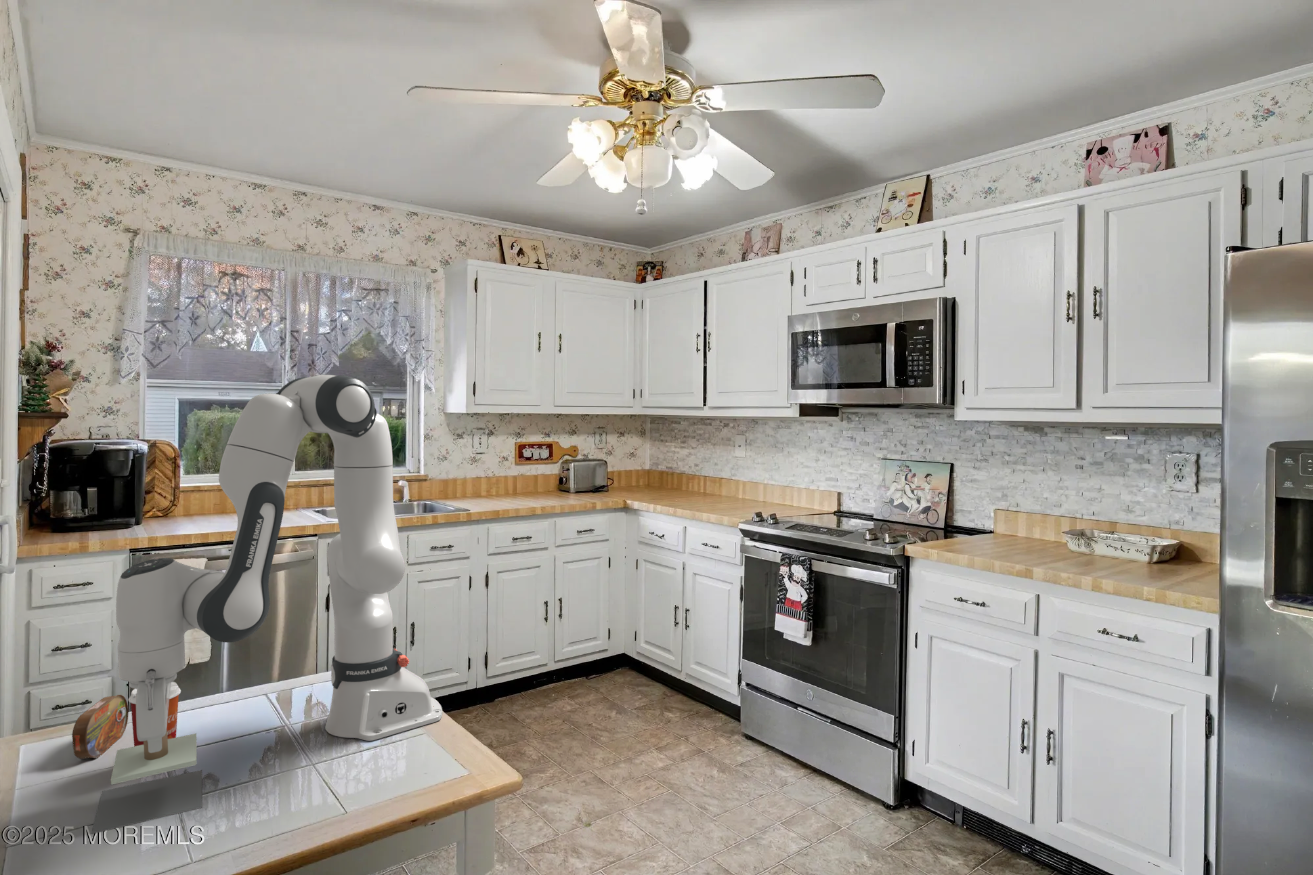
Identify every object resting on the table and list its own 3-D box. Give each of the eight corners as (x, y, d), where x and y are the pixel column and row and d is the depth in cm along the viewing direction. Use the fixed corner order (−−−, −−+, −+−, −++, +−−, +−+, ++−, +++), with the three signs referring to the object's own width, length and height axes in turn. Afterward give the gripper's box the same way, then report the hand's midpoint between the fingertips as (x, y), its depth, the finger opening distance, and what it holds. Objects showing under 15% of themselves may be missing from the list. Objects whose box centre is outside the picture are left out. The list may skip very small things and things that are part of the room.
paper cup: (154, 778, 124) (154, 698, 124) (117, 773, 126) (116, 694, 125) (192, 757, 132) (192, 681, 131) (156, 752, 133) (156, 677, 133)
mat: (202, 771, 127) (202, 769, 127) (202, 810, 115) (202, 807, 115) (102, 793, 119) (102, 790, 119) (91, 836, 107) (91, 833, 107)
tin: (88, 766, 128) (88, 719, 128) (68, 768, 127) (67, 721, 127) (130, 729, 143) (130, 687, 142) (112, 730, 142) (112, 688, 142)
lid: (196, 737, 125) (195, 712, 125) (196, 764, 116) (195, 738, 115) (117, 754, 119) (116, 728, 119) (110, 784, 110) (109, 756, 109)
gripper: (174, 677, 109) (178, 766, 110) (177, 639, 127) (180, 716, 127) (122, 686, 106) (126, 778, 107) (133, 646, 123) (136, 725, 124)
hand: (156, 744), depth 117 cm, fingers closed on lid, 3 cm apart
